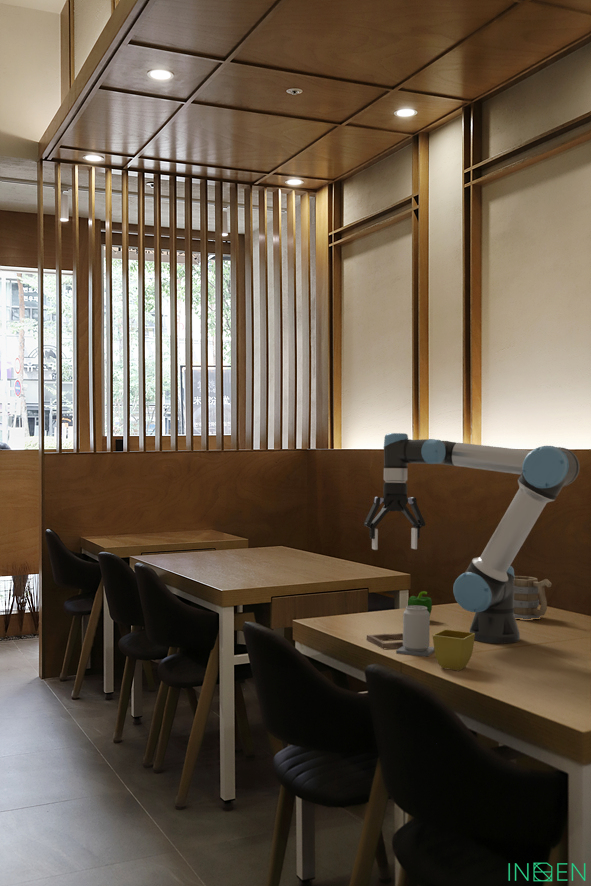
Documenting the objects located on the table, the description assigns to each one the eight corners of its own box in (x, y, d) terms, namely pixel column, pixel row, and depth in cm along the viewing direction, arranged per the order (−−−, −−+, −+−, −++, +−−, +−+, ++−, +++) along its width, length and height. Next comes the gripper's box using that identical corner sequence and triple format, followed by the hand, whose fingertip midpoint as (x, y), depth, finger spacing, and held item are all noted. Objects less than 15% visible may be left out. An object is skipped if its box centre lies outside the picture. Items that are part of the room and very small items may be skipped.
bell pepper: (401, 619, 285) (402, 590, 285) (417, 617, 290) (417, 588, 291) (421, 623, 279) (421, 593, 279) (436, 620, 284) (436, 591, 285)
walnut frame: (403, 637, 255) (403, 633, 255) (421, 646, 243) (421, 641, 243) (366, 639, 251) (366, 634, 251) (382, 648, 239) (382, 643, 239)
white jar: (428, 652, 232) (429, 609, 232) (401, 650, 233) (402, 608, 233) (429, 646, 239) (430, 605, 239) (403, 645, 240) (404, 603, 241)
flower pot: (463, 674, 211) (463, 638, 212) (431, 669, 216) (431, 634, 216) (475, 667, 219) (475, 633, 219) (444, 662, 223) (444, 629, 224)
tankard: (496, 615, 297) (496, 573, 297) (524, 613, 302) (524, 572, 302) (534, 625, 279) (534, 580, 279) (563, 622, 284) (563, 579, 284)
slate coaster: (435, 650, 238) (435, 647, 238) (427, 656, 230) (427, 653, 230) (405, 647, 242) (405, 644, 242) (396, 653, 234) (396, 650, 234)
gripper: (425, 482, 269) (425, 547, 268) (354, 481, 261) (353, 548, 261) (436, 482, 262) (435, 549, 261) (363, 481, 254) (362, 550, 254)
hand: (394, 549), depth 261 cm, fingers open, 13 cm apart
